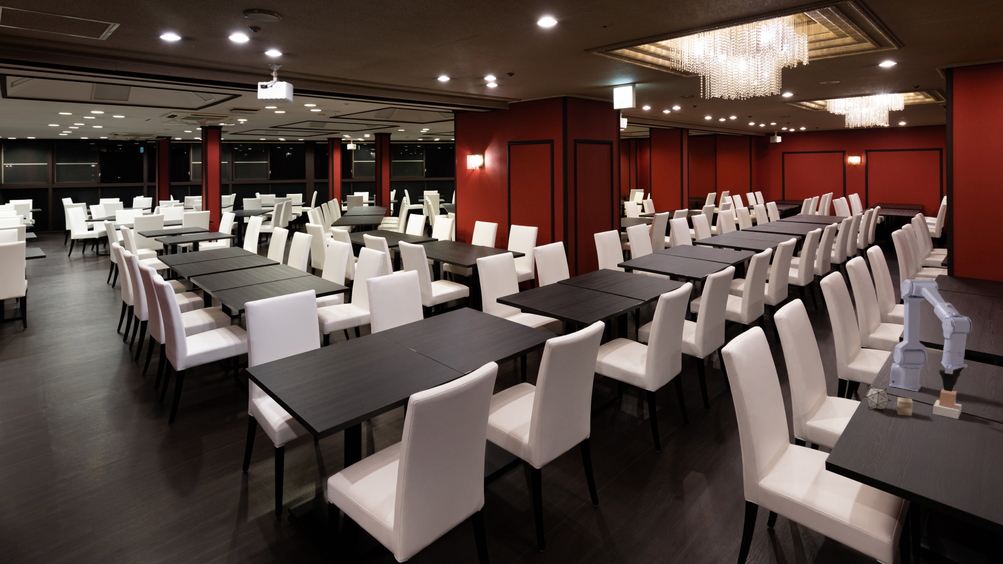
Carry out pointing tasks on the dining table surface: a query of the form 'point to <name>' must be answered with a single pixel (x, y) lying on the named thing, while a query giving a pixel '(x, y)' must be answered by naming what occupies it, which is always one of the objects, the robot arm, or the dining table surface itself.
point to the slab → (947, 410)
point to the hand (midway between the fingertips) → (949, 387)
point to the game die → (877, 398)
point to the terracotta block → (947, 398)
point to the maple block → (904, 406)
